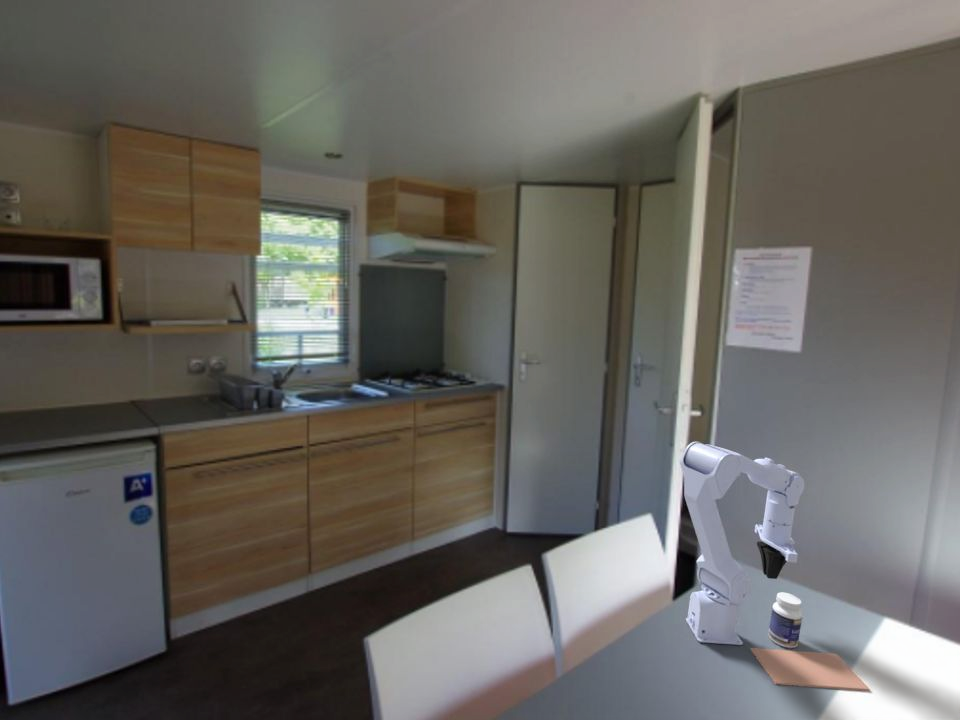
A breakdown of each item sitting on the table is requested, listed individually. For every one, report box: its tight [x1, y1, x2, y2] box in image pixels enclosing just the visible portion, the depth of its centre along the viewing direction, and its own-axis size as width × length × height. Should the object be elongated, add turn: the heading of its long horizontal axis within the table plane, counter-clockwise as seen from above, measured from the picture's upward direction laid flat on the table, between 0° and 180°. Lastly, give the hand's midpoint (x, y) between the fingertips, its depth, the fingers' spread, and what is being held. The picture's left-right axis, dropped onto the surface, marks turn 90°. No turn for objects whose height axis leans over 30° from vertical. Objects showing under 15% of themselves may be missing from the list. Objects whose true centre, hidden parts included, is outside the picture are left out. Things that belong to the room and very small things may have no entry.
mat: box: [749, 647, 871, 692], centre depth 107 cm, size 18×10×1 cm, turn 89°
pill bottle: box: [768, 591, 803, 649], centre depth 116 cm, size 6×6×10 cm
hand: (770, 576), depth 123 cm, fingers closed
